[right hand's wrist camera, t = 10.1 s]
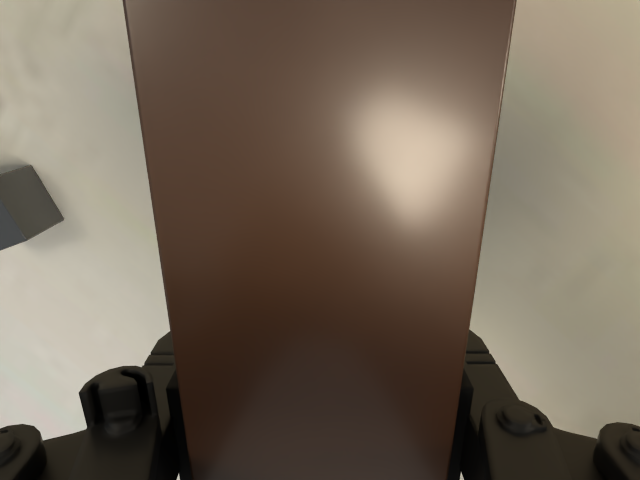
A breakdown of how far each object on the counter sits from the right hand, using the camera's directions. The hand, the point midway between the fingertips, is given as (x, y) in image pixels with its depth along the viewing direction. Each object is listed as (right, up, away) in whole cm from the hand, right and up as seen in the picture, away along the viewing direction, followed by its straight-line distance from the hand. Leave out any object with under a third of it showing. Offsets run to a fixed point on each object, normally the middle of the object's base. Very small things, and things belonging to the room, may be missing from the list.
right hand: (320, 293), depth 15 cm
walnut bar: (0, +9, -3) cm, 9 cm away
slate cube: (-20, +4, +14) cm, 25 cm away
